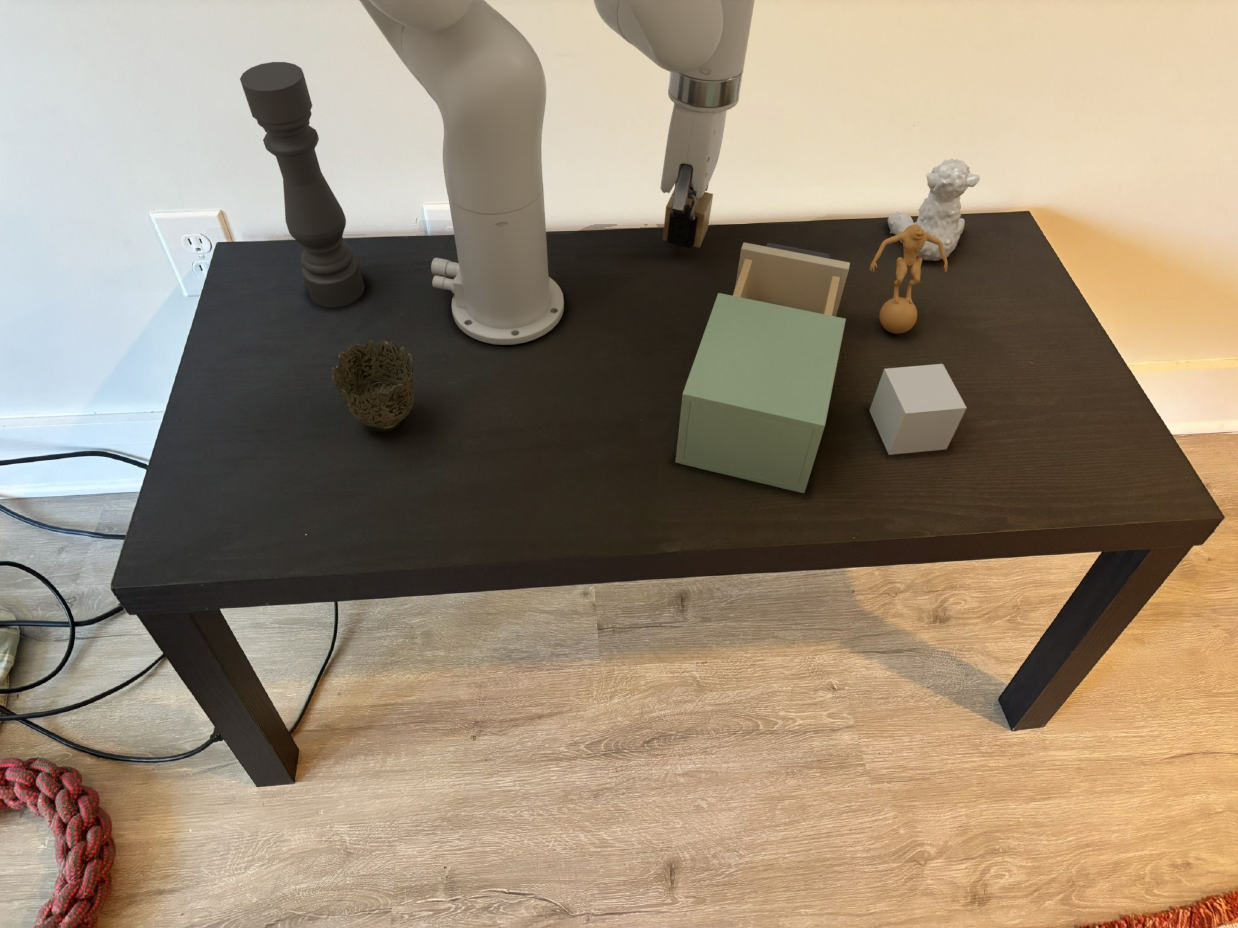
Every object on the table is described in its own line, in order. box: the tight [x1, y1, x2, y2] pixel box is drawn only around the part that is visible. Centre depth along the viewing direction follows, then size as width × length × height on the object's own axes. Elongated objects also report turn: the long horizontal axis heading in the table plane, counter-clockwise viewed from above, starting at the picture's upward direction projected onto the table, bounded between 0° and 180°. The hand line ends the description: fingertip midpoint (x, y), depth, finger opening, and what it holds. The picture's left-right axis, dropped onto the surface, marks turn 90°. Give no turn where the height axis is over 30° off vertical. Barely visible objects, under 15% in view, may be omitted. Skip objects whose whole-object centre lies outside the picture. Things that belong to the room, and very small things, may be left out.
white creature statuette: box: [887, 158, 981, 262], centre depth 100 cm, size 10×9×12 cm
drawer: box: [732, 242, 851, 317], centre depth 90 cm, size 18×11×8 cm, turn 163°
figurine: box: [869, 225, 949, 335], centre depth 91 cm, size 8×6×12 cm
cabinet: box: [675, 292, 847, 494], centre depth 82 cm, size 15×13×10 cm
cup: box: [330, 339, 416, 435], centre depth 82 cm, size 8×7×8 cm
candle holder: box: [239, 61, 366, 308], centre depth 88 cm, size 6×6×25 cm
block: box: [662, 189, 714, 249], centre depth 100 cm, size 5×5×5 cm
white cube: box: [869, 363, 967, 456], centre depth 83 cm, size 6×6×6 cm
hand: (685, 230), depth 102 cm, fingers closed on block, 4 cm apart
